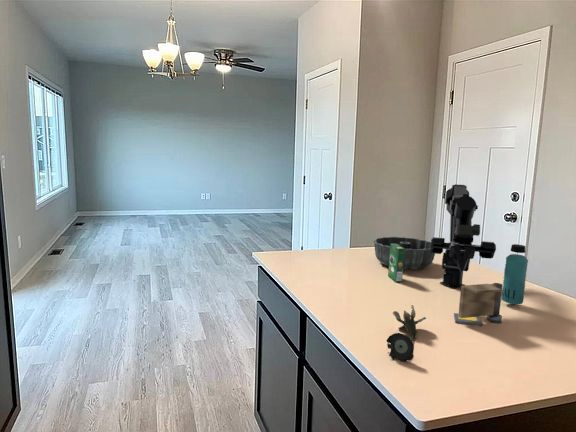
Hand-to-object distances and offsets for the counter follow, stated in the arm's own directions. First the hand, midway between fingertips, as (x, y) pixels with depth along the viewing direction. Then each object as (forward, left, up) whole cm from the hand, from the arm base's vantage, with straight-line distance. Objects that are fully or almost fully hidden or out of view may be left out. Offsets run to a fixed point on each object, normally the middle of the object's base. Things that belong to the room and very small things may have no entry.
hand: (461, 271), depth 132 cm
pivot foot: (-3, +10, -13) cm, 16 cm away
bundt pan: (-22, -48, -13) cm, 54 cm away
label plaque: (+4, +7, -13) cm, 15 cm away
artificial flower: (+31, +9, -13) cm, 35 cm away
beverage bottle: (-20, +4, -13) cm, 24 cm away
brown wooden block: (+2, +11, -11) cm, 15 cm away
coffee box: (-4, -33, -13) cm, 36 cm away
